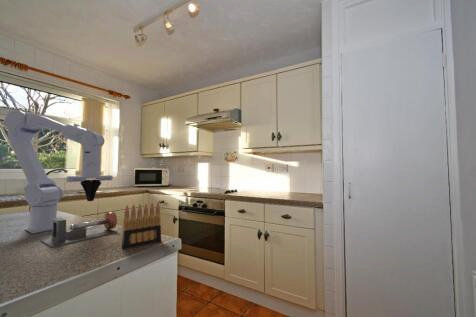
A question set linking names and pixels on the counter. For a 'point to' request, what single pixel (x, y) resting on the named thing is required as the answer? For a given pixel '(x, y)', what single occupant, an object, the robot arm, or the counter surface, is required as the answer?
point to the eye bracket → (72, 234)
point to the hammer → (98, 222)
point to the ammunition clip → (135, 229)
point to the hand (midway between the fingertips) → (90, 200)
